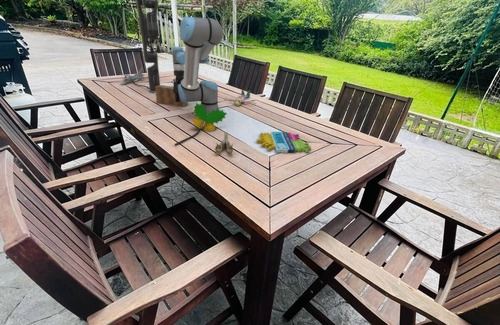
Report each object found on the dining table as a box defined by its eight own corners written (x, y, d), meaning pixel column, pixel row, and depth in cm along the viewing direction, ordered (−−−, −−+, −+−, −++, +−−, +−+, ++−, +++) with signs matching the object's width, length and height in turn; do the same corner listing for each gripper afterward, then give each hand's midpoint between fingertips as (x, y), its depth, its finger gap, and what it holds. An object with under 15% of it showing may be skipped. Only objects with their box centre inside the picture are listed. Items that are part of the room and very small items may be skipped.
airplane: (115, 77, 268) (113, 67, 262) (148, 75, 281) (146, 66, 276) (118, 87, 239) (116, 75, 234) (154, 84, 252) (153, 74, 247)
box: (188, 104, 204) (187, 88, 198) (184, 107, 199) (183, 90, 193) (161, 100, 208) (159, 84, 202) (156, 102, 203) (154, 86, 197)
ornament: (218, 133, 171) (224, 110, 169) (221, 134, 163) (227, 111, 161) (186, 125, 162) (192, 101, 160) (189, 126, 155) (195, 101, 153)
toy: (261, 91, 228) (254, 99, 202) (261, 99, 231) (253, 108, 205) (231, 87, 233) (220, 95, 207) (230, 95, 236) (219, 104, 210)
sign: (313, 150, 142) (258, 149, 139) (312, 153, 143) (258, 152, 140) (301, 132, 164) (254, 130, 161) (301, 134, 165) (254, 133, 162)
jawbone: (234, 135, 144) (233, 125, 135) (233, 160, 138) (232, 151, 129) (217, 135, 144) (216, 125, 135) (216, 160, 138) (214, 150, 129)
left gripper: (153, 28, 197) (156, 51, 205) (142, 28, 185) (145, 53, 193) (162, 29, 196) (165, 52, 204) (152, 29, 184) (154, 54, 191)
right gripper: (181, 67, 200) (183, 95, 211) (165, 71, 180) (168, 103, 191) (190, 68, 198) (192, 96, 209) (175, 73, 179) (178, 104, 190)
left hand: (155, 52), depth 198 cm, fingers open, 8 cm apart
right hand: (180, 99), depth 200 cm, fingers open, 10 cm apart
